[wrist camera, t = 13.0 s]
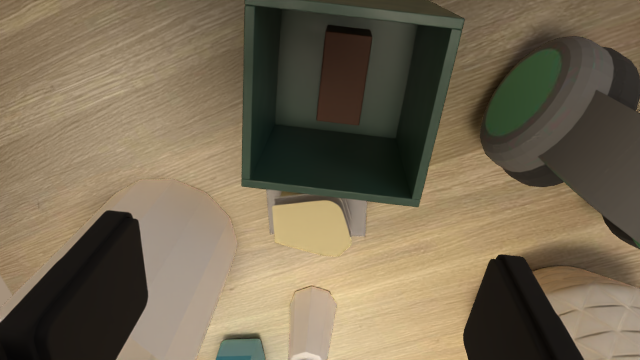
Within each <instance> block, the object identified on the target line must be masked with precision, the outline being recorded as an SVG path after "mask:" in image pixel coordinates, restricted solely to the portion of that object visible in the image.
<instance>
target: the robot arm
mask: <svg viewBox="0 0 640 360" xmlns="http://www.w3.org/2000/svg"><path fill="white" fill-rule="evenodd" d="M147 301H148V288H147V280H146V273H145V265H144V257H143V250H142V242H141V234H140V227H139V221H138V220H137V219H134V218H133V216H132V214H131V213H129V212H121V211H112V210H107V211H105V212H104V213H103V214H102V215H101V216H100V217H99V218H98V219H97V221H96V222H95V223H94V224H93V225H92V226H91V227H90V228H89V229H88V230H87V231H86V232H85V233H84V235H83V236H82V237H81V238H80V239H79V240H78V241H77V242H76V243H75V244H74V245H73V246H72V247H71V248H70V250H69V251H68V252H67V253H66V254H65V255H64V256H63V257H62V258H61V259H60V260H59V261H57V262H56V263H55V264H54V266H53V267H52V268H51V269H50V270H49V271H48V272H47V273H46V274H45V275H44V276H43V277H42V278H41V279H40V281H39V282H38V283H37V284H36V285H35V286H34V287H33V288H32V289H31V290H30V291H29V292H28V293H27V294H26V295H25V297H24V298H23V299H22V300H21V301H20V302H19V303H18V304H17V305H16V306H15V307H14V308H13V309H12V310H11V312H10V313H9V314H8V315H7V316H6V317H5V318H4V319H3V320H2V321H1V322H0V360H116V359H117V357H118V355H119V353H120V352H121V350H122V348H123V346H124V345H125V343H126V341H127V339H128V338H129V336H130V334H131V332H132V331H133V329H134V327H135V325H136V323H137V322H138V320H139V318H140V316H141V315H142V313H143V311H144V309H145V307H146V305H147ZM463 341H464V346H465V349H466V353H467V356H468V360H584V358H583V357H582V355H581V353H580V352H579V350H578V348H577V346H576V345H575V343H574V341H573V339H572V338H571V336H570V334H569V332H568V331H567V329H566V327H565V326H564V324H563V322H562V320H561V319H560V317H559V316H558V315H557V314H556V312H555V310H554V309H553V307H552V305H551V304H550V302H549V300H548V298H547V297H546V295H545V293H544V291H543V290H542V288H541V286H540V284H539V283H538V281H537V279H536V277H535V276H534V274H533V272H532V270H531V269H530V267H529V265H528V263H527V262H526V260H525V259H524V258H523V257H520V256H511V255H502V254H501V255H498V256H497V258H496V259H491V260H490V261H489V263H488V266H487V269H486V272H485V274H484V277H483V280H482V283H481V285H480V288H479V291H478V293H477V296H476V299H475V302H474V304H473V307H472V310H471V313H470V315H469V318H468V321H467V323H466V326H465V329H464V334H463Z"/></svg>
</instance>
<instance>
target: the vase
mask: <svg viewBox="0 0 640 360" xmlns="http://www.w3.org/2000/svg"><path fill="white" fill-rule="evenodd" d="M533 274H534V276H535V277H536V279H537V281H538V283H539V284H540V286H541V288H542V290H543V291H544V293H545V295H546V297H547V298H548V300H549V302H550V304H551V305H552V307H553V309H554V310H555V312H556V314H557V315H558V316H559V317H560V319H561V320H562V322H563V324H564V326H565V327H566V329H567V331H568V332H569V334H570V336H571V338H572V339H573V341H574V343H575V345H576V346H577V348H578V350H579V352H580V353H581V355H582V357H583V358H584V360H640V288H637V287H635V286H632V285H629V284H626V283H623V282H620V281H617V280H614V279H610V278H607V277H604V276H601V275H598V274H595V273H592V272H589V271H586V270H583V269H580V268H576V267H570V266H552V267H546V268H542V269H538V270H536V271H533Z"/></svg>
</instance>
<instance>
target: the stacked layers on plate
mask: <svg viewBox="0 0 640 360" xmlns="http://www.w3.org/2000/svg"><path fill="white" fill-rule="evenodd" d="M266 190H267V203H268V215H269V228H270V234H274V239H275V243H277V244H281V245H285V246H289V247H292V248H296V249H300V250H303V251H307V252H311V253H315V254H318V255H322V256H340V255H341V254H342V253H343V252H344V251H345V250H346V249H347V248H349V247H350V246H351V242H352V241H351V238H350V237H351V236H365V231H366V209H367V201H361V200H353V199H344V198H336V197H327V196H319V195H310V194H302V193H294V192H285V191H277V190H268V189H266Z"/></svg>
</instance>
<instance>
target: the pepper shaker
mask: <svg viewBox="0 0 640 360" xmlns="http://www.w3.org/2000/svg"><path fill="white" fill-rule="evenodd" d="M336 307H337V304H336V302H335V301H334V299H333V297H332V296H331V294H330V292H329V291H326V290H323V289H320V288H317V287H313V286H311V287H308V288H305V289H302V290H299V291H296V292H295V294H294V296H293V299H292V301H291V303H290V319H289V354H288V360H327V359H328V353H329V347H330V341H331V336H332V330H333V324H334V318H335V313H336Z"/></svg>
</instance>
